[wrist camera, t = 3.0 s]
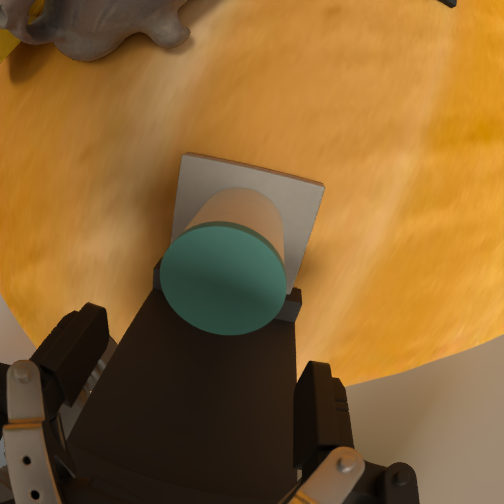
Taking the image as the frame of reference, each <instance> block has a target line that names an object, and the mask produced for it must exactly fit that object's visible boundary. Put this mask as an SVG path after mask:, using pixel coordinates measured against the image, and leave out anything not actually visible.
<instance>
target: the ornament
mask: <svg viewBox="0 0 504 504" xmlns="http://www.w3.org/2000/svg"><path fill="white" fill-rule="evenodd" d="M44 4H45V1H44V0H36V1H35V2H34V4H33V5H32V6H31V7H30V9H29V12H28V15H29V19H28V25H31V24H32V23H31V22H32V21H33V20H35V19H36V18H38V17H36V16H37V15H38V13H39V12H40V11H41V10H42V8H43V7H44ZM20 42H21V41H20V40H19V39H18V38H16V37H15V36H14V35H13V34H12V33H10V32H9V31H8V30H7V29H1V28H0V63H1V62H2V61H3V60H4V59H5V58H6V57H7V56H8V55H9V54H10V52H11V51H12V50H13V49H14V48H15V47H16V46H17V45H18V44H19V43H20Z"/></svg>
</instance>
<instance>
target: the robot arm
mask: <svg viewBox="0 0 504 504" xmlns="http://www.w3.org/2000/svg"><path fill="white" fill-rule="evenodd" d="M108 343H109V328H108V320H107V312H106V309H105V308H103V307H101V306H98V305H95V304H92V303H89V302H88V303H86V304H85V305H84V306H83V307H82V309H81V310H80V311H79V312H77V311H75V310H74V311H73V312H71V313H69V314H67V315H66V316H64V317H63V318H62V319H61V321H60V322H59V323H58V324H57V327H55V328H54V329H53V330H52V331H51V334H49V335H48V336H47V338H46V339H45V340H44V341H43V342H42V344H41V345H40V346H39V348H38V349H37V350H36V352H35V353H34V354H33V355H32V357H31V358H30V359H29V360H19V361H17V362H14V363H13V364H12V365H7V364H3V363H0V440H1V438H2V436H3V440H4V447H5V455H6V461H7V467H8V472H9V477H10V482H11V487H12V491H13V495H14V498H13V499H10V500H7V501H3V502H0V504H151V503H149V502H147V501H145V500H143V499H142V498H140V497H138V496H137V495H135V494H133V493H132V492H130V491H129V490H127V489H125V488H124V487H122V486H120V485H117V484H115V483H112V482H110V481H108V480H105V479H103V478H101V477H98V476H96V475H94V474H93V475H92V477H91V479H90V478H79V475H78V472H77V469H76V466H75V464H74V462H73V460H72V458H71V456H70V453H69V450H68V446H67V442H66V438H65V434H64V430H63V425H62V420H61V415H60V411H59V409H60V407H61V406H62V404H64V405H66V406H68V407H70V408H72V406H73V404H74V403H75V401H76V399H77V397H78V396H79V394H80V392H81V390H82V389H83V387H84V385H85V383H86V382H87V380H88V378H89V377H90V375H91V373H92V372H93V370H94V368H95V367H96V365H97V363H98V362H99V360H100V358H101V357H102V355H103V354H104V352H105V350H106V348H107V346H108ZM348 410H349V409H348V403H347V397H346V390H345V388H344V386H343V384H342V383H341V381H340V379H339V378H333V377H332V375H331V368H330V365H329V364H328V363H322V362H316V361H309V362H308V364H307V365H306V367H305V369H304V371H303V373H302V375H301V376H300V378H299V380H298V382H297V384H296V386H295V390H294V395H293V469H298V470H299V469H300V470H302V477H301V478H300V479H299V480H298V482H297V483H296V484H295V485H294V486H293V487H292V488H291V489H290V490H289V491H288V492H287V493H286V494H285V495H284V496H283V497H282V498H281V499H280V500H279V501H278V502H277V503H276V504H420V503H419V494H418V486H417V479H416V474H415V471H414V470H413V469H412V467H411V466H409V465H408V464H406V463H402V462H397V463H394V464H392V465H390V466H389V467H384V466H380V465H377V464H373V463H370V462H367V461H365V460H364V459H363V457H362V455H361V454H360V453H359V452H358V451H357V450H355V448H354V444H353V438H352V437H353V436H352V430H351V422H350V415H349V412H348Z"/></svg>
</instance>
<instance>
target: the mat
mask: <svg viewBox="0 0 504 504" xmlns="http://www.w3.org/2000/svg"><path fill="white" fill-rule="evenodd" d="M439 1H441V2H442V3H444V4H446V5H447V6H449V7H451V8H453V7H455V6H456V2H457V0H439Z"/></svg>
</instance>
